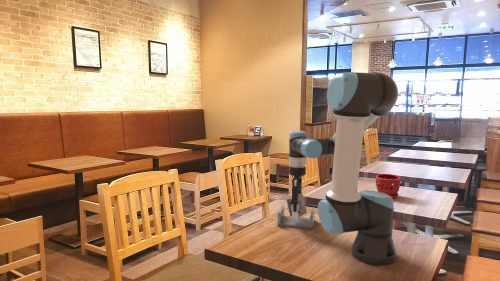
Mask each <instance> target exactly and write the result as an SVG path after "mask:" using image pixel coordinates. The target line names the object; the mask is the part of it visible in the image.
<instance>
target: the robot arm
mask: <svg viewBox="0 0 500 281" xmlns="http://www.w3.org/2000/svg"><path fill="white" fill-rule="evenodd" d="M328 84H329V85H328V88H327V92H326V101H327V105H328V107H329V108H330V109H331V110H332V115H333V116H334V117H335V118H336V130H335V132H334V134H333V135H332V136H331V137H315V138H313V137H311V138H309V137H308V136H307V135H308V134H307V132H306V131H304V130H292V131H290V133H289V137H288V138H289V139H288V142H289V144H288V148H289V149H288V158H287V160H288V165H289V166H288V174H289V176H293V177H292V180H291V181H292V185H291V186H292V187H291V188H292V190H291V197H292V202H290V204H292V208H291V209H292V218H293V219H298V196H299V194H300V193H302V191H303V187H302V184H303V178H302V177H304V176H306V174H307V167H306V166H307V158H308V159H316V158H318V157H326V156H330V157H331V156H333V159H332V160H333V162H332V174H331V176H332V177H331V185H330V188H329V189H327V190H326V192H325V199H321V200H320V201H319V202H318V205H317V214H318V219H319V220H320V221H319V222H320V224H321V226H322V228H324V230H325V231H326V232H327V233H329V234H335V235H336V234H340V235H342V234H344V233H353V232H357V233H356V236H355V238H354V241H353V243H352V246H351V254H352V256H353V257H354V258H356V259H357V260H358V261H360V262H364V263H365V264H371V265H376V266H377V265H380V266H382V265H383V266H385V265H386V266H387V265H390V264H393V263H394V262H396V260H397V250H396V247H395V242H394V239H393V221H394V210H395V208H394V205H395V204H394V198H392V197H391V196H389V195H387V194H384V193H381V192H377V191H376V190H370V189H369V190H367V189H361V190H360V191H359V192H358V187H359V176H360V169H361V158H362V150H363V148H362V147H363V140H364V131H366V130H367V129H368V128H369V127H370V126H371V125H372V124H373V123H375V121H376V120H378V118H379V117H384V116H385V115H387V114H388V113H389V112H390V111H391V110H392V109H393V108H394V106H395V105H396V103H397V100H398V97H399V96H398V95H399V90H398V89H399V88H398V86H397V84H396V82H395V80H394V79H393V78H392V77H391V76H389V75H388V74H385V73H383V72H354V71H348V72H340V73H338V74H336V75H334V77H333V78H332V79H331V81H330V82H329V83H328ZM302 194H303V193H302ZM295 201H296V202H295Z"/></svg>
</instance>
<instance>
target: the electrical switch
mask: <svg viewBox="0 0 500 281" xmlns="http://www.w3.org/2000/svg"><path fill="white" fill-rule="evenodd" d="M290 202H292V196H291V197H289V198H287V199H286V204H287V207H288V212H289V216H292V204H290ZM295 202H296V201H295ZM307 212H308V210H307V207H306V201H305V198H304V194H303V193H300V194H299V196H298V217H301V216H303V215H305V214H307Z"/></svg>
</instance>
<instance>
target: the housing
mask: <svg viewBox="0 0 500 281" xmlns="http://www.w3.org/2000/svg"><path fill="white" fill-rule="evenodd" d="M315 212H316V208H315V207H311V211H310V214H309V217H301V216H300V217H298V219H293V218H292V216H290V215H285V205H281V206H280V208H279V210H278V211H277V227H287V228H294V229H295V228H298V229H308V230H313V229H314V225H315V218H316V217H315V216H316V215H315V214H316V213H315Z"/></svg>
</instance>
